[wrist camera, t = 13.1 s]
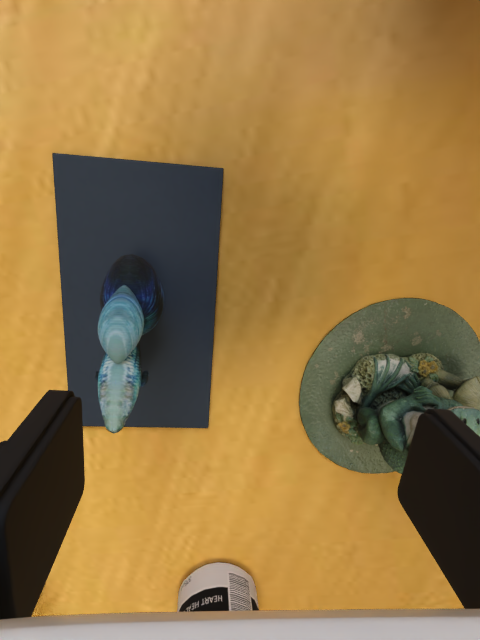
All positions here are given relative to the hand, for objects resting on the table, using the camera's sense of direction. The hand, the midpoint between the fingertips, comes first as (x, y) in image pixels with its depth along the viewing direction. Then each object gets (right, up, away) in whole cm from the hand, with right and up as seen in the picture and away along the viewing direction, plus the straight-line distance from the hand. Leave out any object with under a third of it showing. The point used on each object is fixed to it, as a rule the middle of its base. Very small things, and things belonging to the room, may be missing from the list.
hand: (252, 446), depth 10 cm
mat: (-8, +5, +20) cm, 22 cm away
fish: (-8, +4, +20) cm, 22 cm away
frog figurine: (+14, -3, +25) cm, 29 cm away
